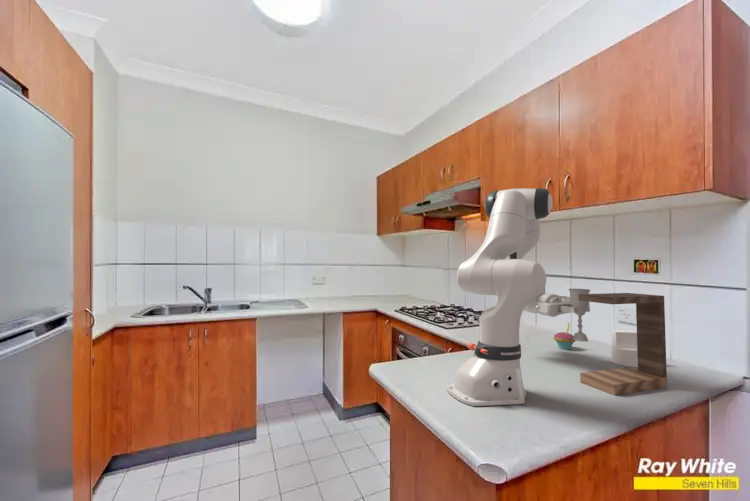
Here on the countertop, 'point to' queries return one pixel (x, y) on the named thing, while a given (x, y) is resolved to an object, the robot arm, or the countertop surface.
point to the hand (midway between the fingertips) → (582, 309)
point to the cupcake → (564, 339)
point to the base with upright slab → (624, 348)
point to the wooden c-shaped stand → (648, 347)
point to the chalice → (579, 311)
